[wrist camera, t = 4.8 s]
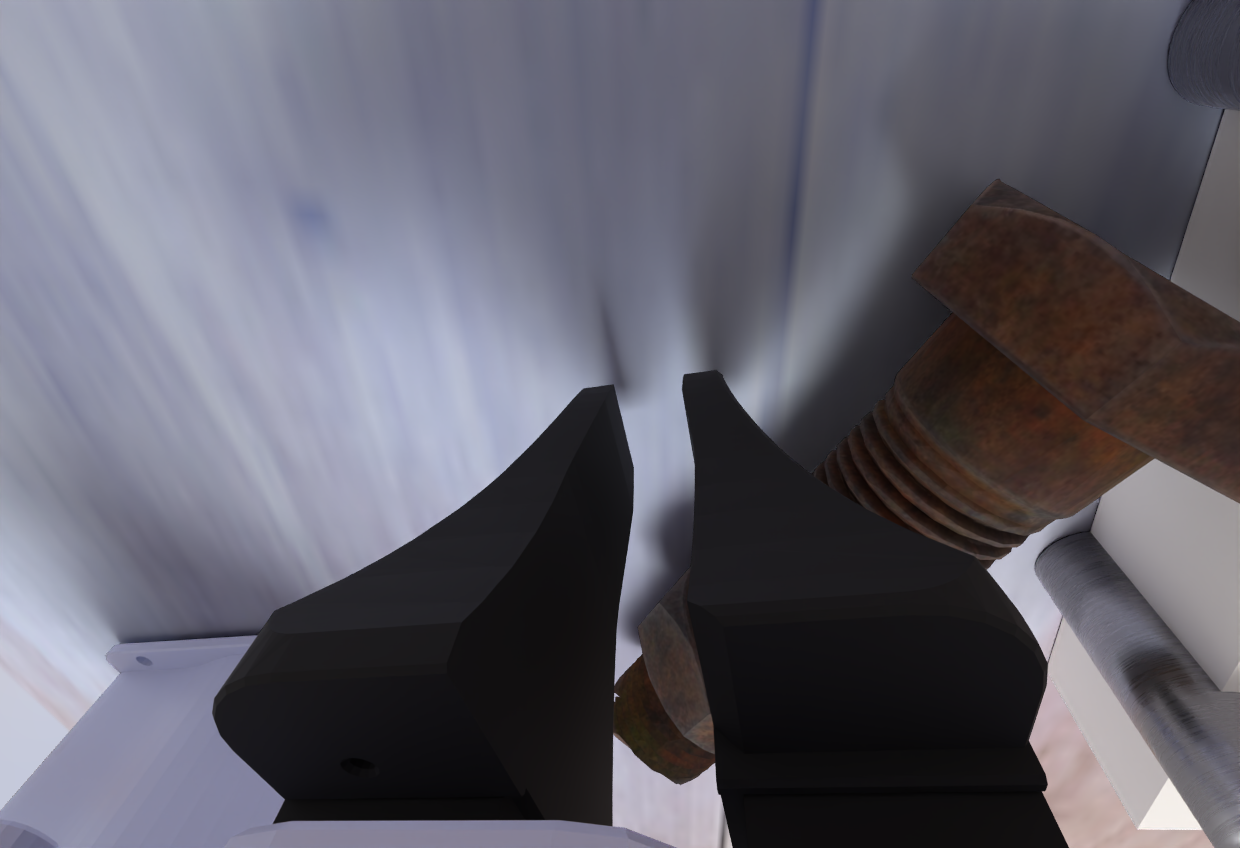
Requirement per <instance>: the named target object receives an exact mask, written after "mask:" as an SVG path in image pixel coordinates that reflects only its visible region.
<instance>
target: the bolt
mask: <svg viewBox="0 0 1240 848" xmlns="http://www.w3.org/2000/svg"><path fill="white" fill-rule="evenodd" d="M912 279H913V280H915V281H916V282H917V283H918V284H919V285H921V286H922V287H923V288H924V289H925V290H927V291H928V292H929V293H930V294H931V295H933V296H934V297H935V298H936V299H938V300H939V301H940V302H941V303H942V304H944V305H945V306H946V307H947V308H948V309H950V310H951V311H952V312H953V313H952V314H951V315H950V316H949V317H948V318H947V319H946V320H945V321H944V322H943V324H942V325H941V326H940V327H939V328H938V329H937V330H936V331H935V332H934V333H933V335H932V336H931V337H930V338H929V339H928V340H927V341H926V342H925V343H924V345H923V346H922V347H921V348H920V349H919V350H918V351H917V352H916V353H915V354H914V356H913V357H912V358H911V359H910V360H909V361H908V362H907V363H906V364H905V365H904V367H903V368H902V369H901V370H900V371H899V372H898V373H897V375H896V378H895V382H894V385H893V387H892V388H891V389H890V390H889V391H888V392H887V393H886V395H885V399H883V400H879V401H878V402H877V403H876V404H875V407H874V410H873V412H870V413H868V414H867V415H866V416H865V417H864V418H863V419H862V420H861V424H860V425H856V426H855V427H854V428H853V429H852V430H851V432H850V435H849V437H846V438H844V439H843V440H842V441H841V442H840V443H839V444H838V445H837V449H836V450H833V451H831V452H830V453H829V454H828V456H827V458H826V460H825V461H824V462H822V463H821V464H820V465H818V467H817V468H816V469H815V472H813V473H812V475H813V476H814V477H816V478H817V479H819V480H820V481H821V482H823V483H824V484H826V485H827V486H829V487H830V488H832V489H834V490H835V491H837V492H839V493H840V494H842V495H843V496H845V497H847V498H848V499H850V500H852V501H853V502H855V503H857V504H858V505H860V506H862V507H864V508H866V509H867V510H869V511H871V512H873V513H875V514H877V515H879V516H881V517H883V518H885V519H887V520H889V521H891V522H893V523H895V524H897V525H899V526H902V527H904V528H906V529H908V530H910V531H913V532H915V533H918V534H920V535H923V536H925V537H928V538H930V539H933V540H935V541H938V542H940V543H943V544H945V545H948V546H950V547H953V548H955V549H958V550H960V551H963V552H965V553H968V554H970V555H973V556H975V557H976V558H977V559H978V560H979V561H980V563H981V564H982V565H983V566H984V568H985V569H988V568H989V567H990V566H991V565H992V564H993V562H994V561H995V560H996V559H1002V558H1003V557H1004V556H1006V555H1007V554H1009V553H1010V552H1011V549H1012V547H1018V546H1020V545H1021V544H1023V542H1024V541H1025V540H1026V539H1027V537H1028V536H1029V535H1030V534H1033V533H1036V532H1039V531H1041V530H1042V529H1043V528H1044V527H1046V526H1047V525H1048V524H1050V523H1051V522H1053V521H1055V520H1056V519H1063V518H1068V517H1071V516H1073V515H1075V514H1076V513H1078V512H1079V511H1080V510H1082V509H1083V508H1085V507H1086V506H1088V505H1089V504H1090V503H1092V502H1093V501H1095V500H1096V499H1098V498H1099V497H1100V496H1102V495H1103V494H1105V493H1106V492H1108V491H1109V490H1110V489H1112V488H1113V487H1115V486H1116V485H1118V484H1119V483H1120V482H1122V481H1123V480H1125V479H1126V478H1128V477H1129V476H1130V475H1132V474H1133V473H1135V472H1136V471H1138V470H1139V469H1140V468H1142V467H1143V466H1145V465H1146V464H1148V463H1149V462H1150V461H1152V460H1153V459H1157V460H1159V461H1160V462H1162V463H1164V464H1166V465H1168V466H1170V467H1172V468H1173V469H1175V470H1177V471H1179V472H1181V473H1183V474H1185V475H1187V476H1188V477H1190V478H1192V479H1194V480H1196V481H1198V482H1200V483H1202V484H1203V485H1205V486H1207V487H1209V488H1211V489H1213V490H1215V491H1217V492H1218V493H1220V494H1222V495H1224V496H1226V497H1228V498H1230V499H1232V500H1234V501H1236V502H1237V503H1239V504H1240V322H1239V321H1237V320H1235V319H1234V318H1232V317H1230V316H1229V315H1227V314H1225V313H1224V312H1222V311H1220V310H1219V309H1217V308H1215V307H1213V306H1212V305H1210V304H1208V303H1207V302H1205V301H1203V300H1202V299H1200V298H1198V297H1196V296H1195V295H1193V294H1191V293H1190V292H1188V291H1186V290H1185V289H1183V288H1181V287H1179V286H1178V285H1176V284H1174V283H1173V282H1171V281H1169V280H1168V279H1166V278H1164V277H1163V276H1161V275H1159V274H1157V273H1156V272H1154V271H1152V270H1151V269H1149V268H1147V267H1146V266H1144V265H1142V264H1140V263H1139V262H1137V261H1135V260H1134V259H1132V258H1130V257H1129V256H1127V255H1125V254H1123V253H1122V252H1120V251H1119V250H1117V249H1116V248H1115V247H1113V246H1112V245H1110V244H1109V243H1107V242H1106V241H1104V240H1103V239H1102V238H1100V237H1099V236H1097V235H1096V234H1094V233H1092V232H1090V231H1089V230H1087V229H1085V228H1083V227H1081V226H1080V225H1078V224H1076V223H1074V222H1073V221H1071V220H1069V219H1067V218H1065V217H1064V216H1062V215H1060V214H1058V213H1057V212H1055V211H1053V210H1051V209H1050V208H1048V207H1046V206H1044V205H1042V204H1041V203H1039V202H1037V201H1035V200H1034V199H1032V198H1030V197H1028V196H1027V195H1025V194H1023V193H1021V192H1019V191H1017V190H1016V189H1014V188H1012V187H1010V186H1008V185H1006V184H1005V183H1003V182H1001V180H1000V179H997V180H995V181H994V182H993V183H992V184H990V185H989V186H988V187H987V188H986V189H985V190H984V191H983V193H982V194H981V195H980V196H979V197H978V198H977V199H976V200H975V201H974V202H973V204H972V205H971V206H970V207H969V208H968V209H967V211H966V212H965V213H964V214H963V215H962V216H961V218H960V219H959V220H958V221H957V222H956V223H955V225H954V226H953V227H952V228H951V229H950V231H949V232H948V233H947V234H946V235H945V236H944V238H943V239H942V240H941V241H940V242H939V243H938V245H937V246H936V247H935V248H934V249H933V251H932V252H931V253H930V254H929V255H928V256H927V258H926V259H925V260H924V261H923V262H922V263H921V265H920V266H919V267H918V268H917V269H916V271H915V272H914V273H913V274H912ZM690 568H691V567H690ZM690 568H689V569H688V570H687V571H686V572H685V573H684V575H683V576H682V577H681V578H680V579H679V580H678V581H677V582H676V584H675V585H674V586H673V587H672V588H671V589H670V590H669V592H668V593H667V594H666V595H665V596H664V597H663V598H662V600H661V601H660V602H659V603H658V604H657V605H656V606H655V608H654V609H653V610H652V611H651V612H650V613H649V614H648V616H647V617H646V618H645V619H644V620H643V621H642V623H641V624H640V625H639V626H638V631H639V637H640V642H641V648H642V653H643V654H642V655H641V656H640V657H639V658H638V659H637V660H636V662H635V663H633V664H632V665H631V666H630V667H629V668H628V669H627V670H626V671H625V672H624V674H623V675H622V676H621V677H620V678H619V679H618V681H617V682H616V684H615V686H614V693H616V694H617V695H618V696H619V697H615V702H614V714H613V734H614V735H615V737H617V738H618V739H619V740H620V741H622V742H623V743H624V744H625V745H627V746H628V747H629V748H630V749H631V750H632V751H633V753H634V754H635V755H636V756H637V757H638V758H639V759H640V760H641V761H643V762H644V763H645V764H646V765H647V766H648V767H649V768H650V769H652V770H653V771H656V772H658V773H660V774H662V775H664V776H665V777H667V778H668V779H670V780H671V781H672V782H674V783H675V784H680V785H681V784H684V783H686V782H688V781H691V780H693V779H695V778H696V777H698V776H699V775H700V774H701V773H702V772H704V771H705V770H707V769H708V768H709V767H710V766H711V765H712V764H714V763H715V747H714V729H713V722H712V717H711V712H710V707H709V703H708V698H707V693H706V689H705V684H704V679H703V674H702V670H701V665H700V660H699V656H698V651H697V646H696V641H695V637H694V632H693V627H692V623H691V618H690V613H689V609H688V604H687V596H688V588H689V578H690Z"/></svg>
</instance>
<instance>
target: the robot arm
mask: <svg viewBox="0 0 1240 848" xmlns="http://www.w3.org/2000/svg"><path fill="white" fill-rule="evenodd" d="M682 392H683V398H684V404H685V410H686V416H687V422H688V428H689V434H690V439H691V445H692V451H693V457H694V463H695V502H694V528H693V546H692V558H691V568H690V578H689V588H688V596H687V604H688V609H689V613H690V618H691V623H692V627H693V632H694V637H695V641H696V646H697V651H698V656H699V660H700V665H701V670H702V674H703V679H704V684H705V689H706V693H707V698H708V703H709V707H710V712H711V717H712V722H713V729H714V747H715V766H716V782H717V790H718V794H719V795H721V798H722V802H723V807H724V811H725V815H726V820H727V824H728V829H729V833H730V838H731V842H732V846H733V848H1069V847H1068V845H1067V843H1066V841H1065V839H1064V836H1063V834H1062V832H1061V830H1060V828H1059V826H1058V824H1057V822H1056V820H1055V818H1054V816H1053V814H1052V812H1051V810H1050V808H1049V805H1048V803H1047V801H1046V799H1045V797H1044V795H1043V793H1042V791H1045V790H1046V788H1047V785H1048V783H1047V779H1046V774H1045V772H1044V770H1043V768H1042V766H1041V764H1040V762H1039V760H1038V758H1037V756H1036V754H1035V752H1034V750H1033V748H1032V746H1031V744H1030V742H1029V738H1030V735H1031V732H1032V729H1033V726H1034V723H1035V720H1036V717H1037V714H1038V710H1039V707H1040V704H1041V701H1042V698H1043V695H1044V692H1045V689H1046V686H1047V673H1048V663H1047V661H1046V659H1045V657H1044V655H1043V652H1042V650H1041V648H1040V646H1039V644H1038V642H1037V640H1036V638H1035V637H1034V635H1033V633H1032V631H1031V630H1030V628H1029V626H1028V625H1027V623H1026V622H1025V620H1024V618H1023V617H1022V615H1021V614H1020V612H1019V611H1018V610H1017V608H1016V607H1015V606H1014V604H1013V603H1012V602H1011V600H1010V599H1009V598H1008V597H1007V595H1006V594H1005V593H1004V591H1003V590H1002V589H1001V588H1000V586H999V585H998V584H997V583H996V581H995V580H994V579H993V578H992V576H991V575H990V574H989V573H988V571H987V570H986V569H985V568H984V566H983V565H982V564H981V563H980V561H979V560H978V559H977V558H976V557H975V556H973V555H970V554H968V553H965V552H963V551H960V550H958V549H955V548H953V547H950V546H948V545H945V544H943V543H940V542H938V541H935V540H933V539H930V538H928V537H925V536H923V535H920V534H918V533H915V532H913V531H910V530H908V529H906V528H904V527H902V526H899V525H897V524H895V523H893V522H891V521H889V520H887V519H885V518H883V517H881V516H879V515H877V514H875V513H873V512H871V511H869V510H867V509H866V508H864V507H862V506H860V505H858V504H857V503H855V502H853V501H852V500H850V499H848V498H847V497H845V496H843V495H842V494H840V493H839V492H837V491H835V490H834V489H832V488H830V487H829V486H827V485H826V484H824V483H823V482H821V481H820V480H819V479H817V478H816V477H814V476H813V475H812V474H810V473H809V472H808V471H807V470H805V469H804V468H803V467H801V466H800V465H799V464H798V463H796V462H795V461H794V460H793V459H792V458H791V457H789V456H788V455H787V454H786V453H785V452H784V451H783V450H782V449H780V448H779V447H778V446H777V445H776V444H775V443H774V442H773V441H772V440H771V439H770V438H769V437H768V436H767V435H766V434H765V433H764V432H763V431H762V430H761V429H760V427H759V426H758V425H757V424H756V423H755V422H754V421H753V419H752V418H751V417H750V416H749V415H748V414H747V412H746V411H745V410H744V409H743V407H742V406H741V405H740V404H739V402H738V401H737V399H736V398H735V397H734V395H733V394H732V392H731V391H730V389H729V387H728V386H727V384H726V382H725V380H724V378H723V375H722V374H721V373H719V372H718V371H717V370H713V371H706V372H699V373H692V374H684V376H683V384H682ZM633 496H634V467H633V463H632V458H631V454H630V450H629V446H628V442H627V438H626V434H625V430H624V425H623V421H622V417H621V413H620V409H619V405H618V401H617V396H616V392H615V388H614V384H613V385H606V386H599V387H592V388H584V389H583V390H582V391H580V392H579V393H578V394H577V396H576V397H575V398H574V399H573V400H572V401H571V402H570V403H569V404H568V406H567V407H566V408H565V409H564V410H563V411H562V412H561V413H560V415H559V416H558V417H557V418H556V419H555V420H554V421H553V422H552V423H551V424H550V426H549V427H548V428H547V429H546V430H545V431H544V432H543V433H542V434H541V435H540V436H539V438H538V439H537V440H536V441H535V442H534V443H533V444H532V445H531V446H530V447H529V448H528V449H527V450H526V451H525V452H524V453H523V454H522V455H521V456H520V457H519V458H518V459H517V460H515V461H514V462H513V463H512V464H511V465H510V466H509V467H508V468H507V469H506V470H505V471H504V472H503V473H502V474H501V475H500V476H499V477H498V478H496V479H495V480H494V481H493V482H492V483H491V484H489V485H488V486H487V487H486V488H485V489H484V490H482V491H481V492H480V493H478V494H477V495H476V496H475V497H473V498H472V499H471V500H470V501H468V502H467V503H466V504H465V505H463V506H462V507H461V508H459V509H458V510H457V511H455V512H454V513H452V514H451V515H449V516H448V517H446V518H445V519H443V520H442V521H440V522H439V523H437V524H436V525H434V526H433V527H431V528H430V529H429V530H427V531H426V532H424V533H423V534H421V535H420V536H418V537H417V538H415V539H414V540H412V541H410V542H409V543H407V544H405V545H404V546H402V547H400V548H399V549H397V550H395V551H394V552H392V553H390V554H389V555H387V556H385V557H383V558H381V559H380V560H378V561H376V562H374V563H372V564H371V565H369V566H367V567H365V568H363V569H361V570H360V571H358V572H356V573H354V574H352V575H350V576H348V577H346V578H344V579H342V580H340V581H338V582H336V583H334V584H332V585H329V586H327V587H325V588H323V589H321V590H319V591H317V592H315V593H313V594H310V595H308V596H306V597H304V598H302V599H300V600H298V601H296V602H293V603H291V604H289V605H287V606H285V607H282V608H280V609H278V610H275V611H274V612H273V614H272V615H271V617H270V618H269V620H268V621H267V623H266V624H265V626H264V627H263V628H262V630H261V631H260V633H259V634H258V635H253V636H237V637H222V638H206V639H190V640H175V641H159V642H143V643H127V644H118V645H114V646H113V647H112V648H111V650H110V651H109V652H108V653H107V654H106V655H105V656H106V660H107V661H108V663H109V664H111V665H112V666H113V667H114V668H115V669H116V670H117V671H118V672H120V674H119V675H118V676H117V678H116V679H115V680H114V681H113V682H112V683H111V685H110V686H109V687H108V688H107V689H106V690H105V691H104V693H103V694H102V695H101V696H100V697H99V698H98V699H97V701H96V702H95V703H94V704H93V705H92V706H91V707H90V709H89V710H88V711H87V712H86V713H85V714H84V715H83V717H82V718H81V719H80V720H79V721H78V722H77V723H76V725H75V726H74V727H73V728H72V729H71V730H70V731H69V733H68V734H67V735H66V736H65V737H64V739H63V740H62V741H61V742H60V743H59V744H58V745H57V746H56V748H55V749H54V750H53V751H52V752H51V753H50V754H49V756H48V757H47V758H46V759H45V760H44V761H43V762H42V764H41V765H40V766H39V767H38V768H37V769H36V771H35V772H34V773H33V774H32V775H31V776H30V777H29V778H28V780H27V781H26V782H25V783H24V784H23V785H22V786H21V788H20V789H19V790H18V791H17V792H16V793H15V795H14V796H13V797H12V798H11V799H10V800H9V802H8V803H7V804H6V805H5V806H4V807H3V808H2V809H1V811H0V848H676V847H673V846H671V845H668V844H666V843H663V842H660V841H658V840H655V839H652V838H650V837H647V836H645V835H642V834H639V833H637V832H634V831H632V830H629V829H626V828H622V827H613V826H612V781H613V714H614V678H615V654H616V630H617V620H618V610H619V602H620V596H621V589H622V583H623V576H624V569H625V563H626V556H627V550H628V543H629V536H630V529H631V523H632V515H633Z"/></svg>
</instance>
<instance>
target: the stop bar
mask: <svg viewBox="0 0 1240 848" xmlns="http://www.w3.org/2000/svg"><path fill="white" fill-rule="evenodd" d="M1168 70H1169V76H1170V80H1171V82H1172V85H1173V87H1174V88H1175V90H1176V91H1177V92H1178V94H1179V95H1180V96H1182V97H1183V98H1184V99H1186V100H1187V101H1189V102H1191V103H1194V104H1197V105H1202V106H1208V107H1215V108H1222V109H1225V111H1224V114H1223V117H1222V120H1221V123H1220V126H1219V129H1218V133H1217V136H1216V139H1215V142H1214V145H1213V148H1212V151H1211V155H1210V158H1209V161H1208V164H1207V167H1206V170H1205V173H1204V176H1203V180H1202V183H1201V186H1200V189H1199V192H1198V195H1197V198H1196V202H1195V205H1194V208H1193V211H1192V214H1191V217H1190V220H1189V224H1188V227H1187V230H1186V233H1185V236H1184V239H1183V242H1182V246H1181V249H1180V252H1179V255H1178V258H1177V261H1176V264H1175V267H1174V271H1173V274H1172V277H1171V280H1170V281H1171V282H1173V283H1174V284H1176V285H1178V286H1179V287H1181V288H1183V289H1185V290H1186V291H1188V292H1190V293H1191V294H1193V295H1195V296H1196V297H1198V298H1200V299H1202V300H1203V301H1205V302H1207V303H1208V304H1210V305H1212V306H1213V307H1215V308H1217V309H1219V310H1220V311H1222V312H1224V313H1225V314H1227V315H1229V316H1230V317H1232V318H1234V319H1235V320H1237V321H1239V322H1240V0H1192V1H1191V3H1190V4H1189V6H1188V7H1187V9H1186V10H1185V12H1184V14H1183V16H1182V18H1181V19H1180V21H1179V23H1178V25H1177V28H1176V30H1175V32H1174V35H1173V38H1172V41H1171V45H1170V50H1169V56H1168ZM1035 572H1036V575H1037V577H1038V579H1039V580H1040V582H1041V583H1042V585H1043V586H1044V588H1045V589H1046V591H1047V592H1048V594H1049V595H1050V597H1051V599H1052V600H1053V602H1054V603H1055V605H1056V606H1057V608H1058V609H1059V611H1060V612H1061V614H1062V615H1063V619H1062V622H1061V625H1060V628H1059V631H1058V635H1057V638H1056V641H1055V644H1054V647H1053V650H1052V653H1051V656H1050V660H1049V663H1048V675H1049V677H1050V678H1051V680H1052V682H1053V684H1054V685H1055V687H1056V689H1057V691H1058V692H1059V694H1060V696H1061V698H1062V699H1063V701H1064V703H1065V705H1066V706H1067V708H1068V710H1069V711H1070V713H1071V715H1072V717H1073V718H1074V720H1075V722H1076V724H1077V725H1078V727H1079V729H1080V731H1081V732H1082V734H1083V736H1084V738H1085V739H1086V741H1087V743H1088V745H1089V746H1090V748H1091V750H1092V752H1093V753H1094V755H1095V757H1096V759H1097V760H1098V762H1099V764H1100V766H1101V767H1102V769H1103V771H1104V773H1105V774H1106V776H1107V778H1108V780H1109V781H1110V783H1111V785H1112V787H1113V788H1114V790H1115V792H1116V794H1117V795H1118V797H1119V799H1120V801H1121V802H1122V804H1123V806H1124V808H1125V809H1126V811H1127V813H1128V815H1129V816H1130V818H1131V820H1132V822H1133V823H1134V825H1135V827H1136V829H1145V830H1203V831H1204V832H1205V834H1206V835H1207V837H1208V839H1209V840H1210V842H1211V843H1212V845H1213V846H1214V848H1240V504H1239V503H1237V502H1236V501H1234V500H1232V499H1230V498H1228V497H1226V496H1224V495H1222V494H1220V493H1218V492H1217V491H1215V490H1213V489H1211V488H1209V487H1207V486H1205V485H1203V484H1202V483H1200V482H1198V481H1196V480H1194V479H1192V478H1190V477H1188V476H1187V475H1185V474H1183V473H1181V472H1179V471H1177V470H1175V469H1173V468H1172V467H1170V466H1168V465H1166V464H1164V463H1162V462H1160V461H1159V460H1157V459H1153V460H1152V461H1150V462H1149V463H1148V464H1146V465H1145V466H1143V467H1142V468H1140V469H1139V470H1138V471H1136V472H1135V473H1133V474H1132V475H1130V476H1129V477H1128V478H1126V479H1125V480H1123V481H1122V482H1120V483H1119V484H1118V485H1116V486H1115V487H1113V488H1112V489H1110V490H1109V491H1108V492H1106V493H1105V494H1103V495H1102V496H1101V500H1100V503H1099V506H1098V509H1097V512H1096V515H1095V518H1094V522H1093V525H1092V528H1091V531H1090V532H1084V533H1079V534H1075V535H1071V536H1068V537H1066V538H1063V539H1061V540H1059V541H1057V542H1055V543H1054V544H1052V545H1051V546H1049V547H1048V548H1047V549H1046V550H1045V551H1044V552H1043V553H1042V554H1041V555H1040V556H1039V558H1038V560H1037V562H1036V565H1035Z"/></svg>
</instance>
